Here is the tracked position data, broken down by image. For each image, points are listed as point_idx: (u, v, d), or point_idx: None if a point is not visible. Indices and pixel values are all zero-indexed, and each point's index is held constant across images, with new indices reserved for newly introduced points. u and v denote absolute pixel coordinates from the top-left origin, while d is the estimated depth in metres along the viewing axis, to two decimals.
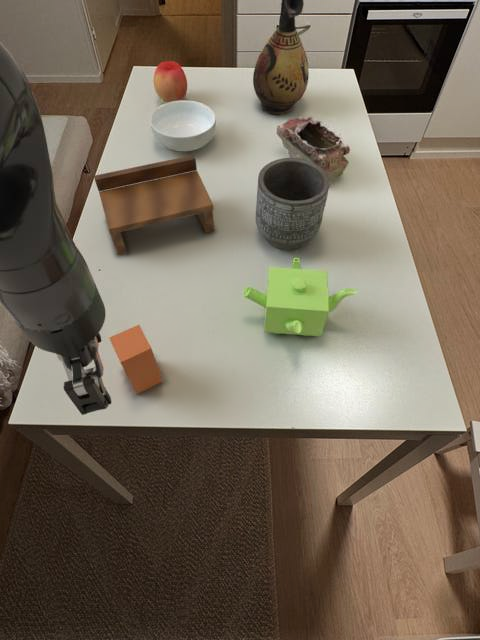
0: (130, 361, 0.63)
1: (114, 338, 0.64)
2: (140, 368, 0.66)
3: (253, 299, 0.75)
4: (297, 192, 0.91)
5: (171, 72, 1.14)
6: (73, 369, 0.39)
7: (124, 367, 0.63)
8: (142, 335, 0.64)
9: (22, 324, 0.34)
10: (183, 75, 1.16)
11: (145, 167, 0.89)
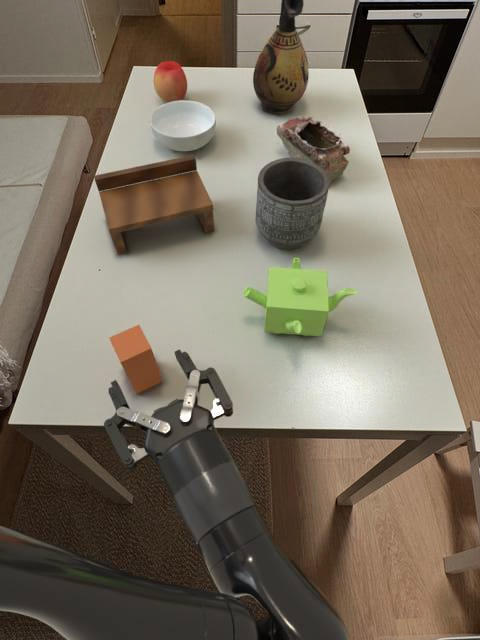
0: (130, 361, 0.63)
1: (114, 338, 0.64)
2: (140, 368, 0.66)
3: (253, 299, 0.75)
4: (297, 192, 0.91)
5: (171, 72, 1.14)
6: (143, 457, 0.46)
7: (124, 367, 0.63)
8: (142, 335, 0.64)
9: (180, 495, 0.42)
10: (183, 75, 1.16)
11: (145, 167, 0.89)
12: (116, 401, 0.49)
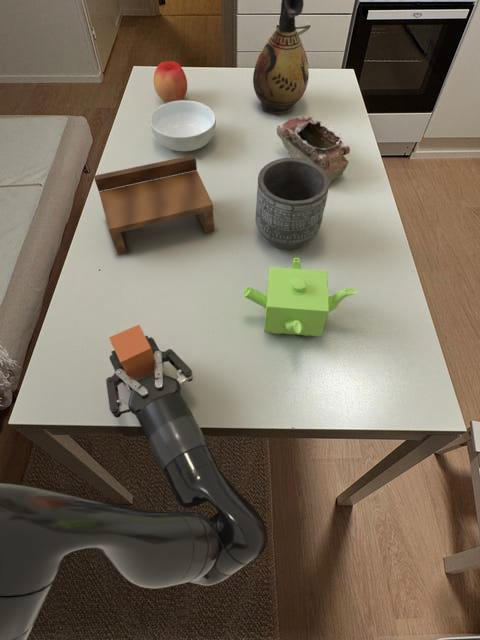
0: (130, 361, 0.63)
1: (114, 338, 0.64)
2: (140, 368, 0.66)
3: (253, 299, 0.75)
4: (297, 192, 0.91)
5: (171, 72, 1.14)
6: (125, 410, 0.63)
7: (124, 367, 0.63)
8: (142, 335, 0.64)
9: (152, 437, 0.58)
10: (183, 75, 1.16)
11: (145, 167, 0.89)
12: (115, 365, 0.66)
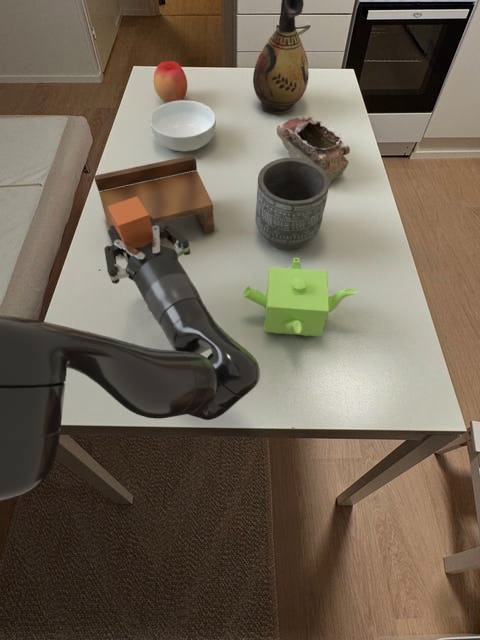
0: (128, 226, 0.64)
1: (113, 207, 0.65)
2: (138, 240, 0.67)
3: (253, 299, 0.75)
4: (297, 192, 0.91)
5: (171, 72, 1.14)
6: (123, 274, 0.64)
7: (122, 234, 0.64)
8: (140, 204, 0.66)
9: (149, 291, 0.59)
10: (183, 75, 1.16)
11: (145, 167, 0.89)
12: (113, 237, 0.67)
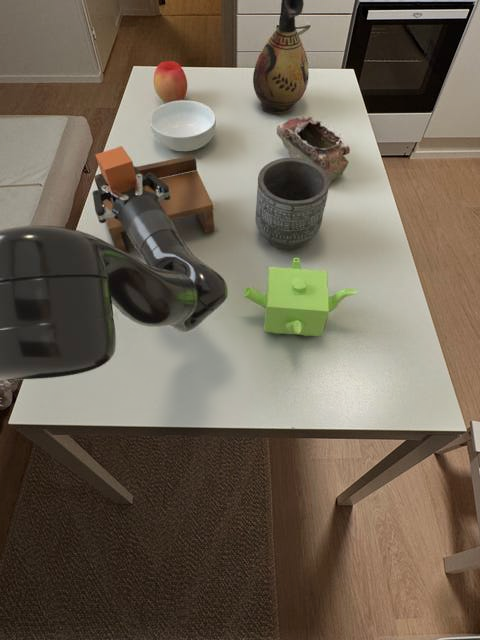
0: (113, 171, 0.71)
1: (100, 154, 0.73)
2: (123, 186, 0.75)
3: (253, 299, 0.75)
4: (297, 192, 0.91)
5: (171, 72, 1.14)
6: (109, 214, 0.71)
7: (108, 178, 0.72)
8: (124, 153, 0.73)
9: (131, 225, 0.67)
10: (183, 75, 1.16)
11: (145, 167, 0.89)
12: (101, 184, 0.75)
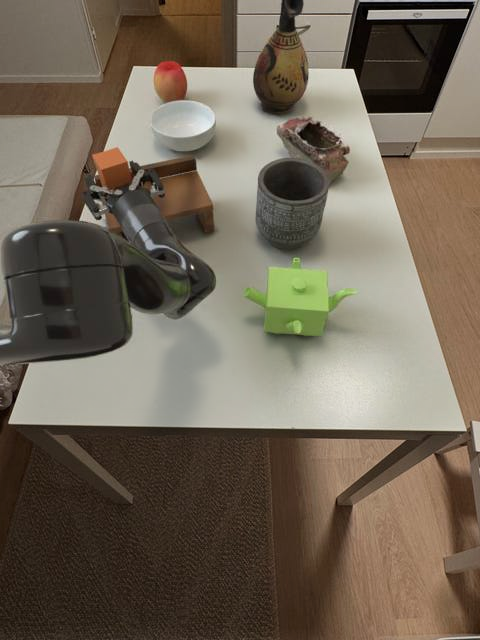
0: (109, 171, 0.75)
1: (97, 155, 0.76)
2: (118, 185, 0.78)
3: (253, 299, 0.75)
4: (297, 192, 0.91)
5: (171, 72, 1.14)
6: (105, 210, 0.74)
7: (105, 178, 0.76)
8: (120, 153, 0.77)
9: (125, 218, 0.70)
10: (183, 75, 1.16)
11: (145, 167, 0.89)
12: (90, 184, 0.77)
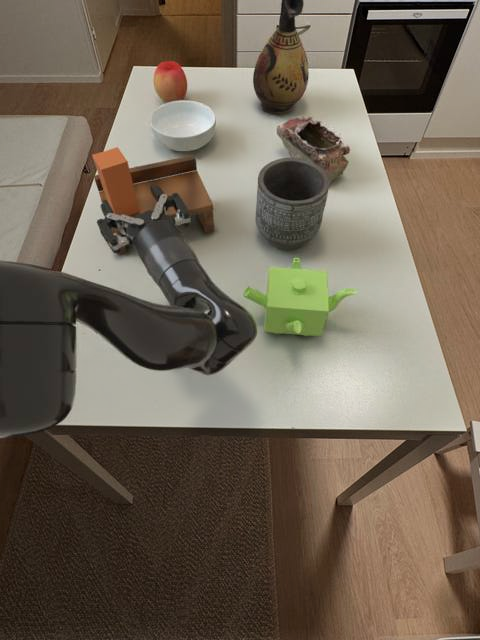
0: (109, 171, 0.75)
1: (97, 155, 0.76)
2: (118, 185, 0.78)
3: (253, 299, 0.75)
4: (297, 192, 0.91)
5: (171, 72, 1.14)
6: (124, 242, 0.65)
7: (105, 178, 0.76)
8: (120, 153, 0.77)
9: (148, 254, 0.61)
10: (183, 75, 1.16)
11: (145, 167, 0.89)
12: (106, 211, 0.68)
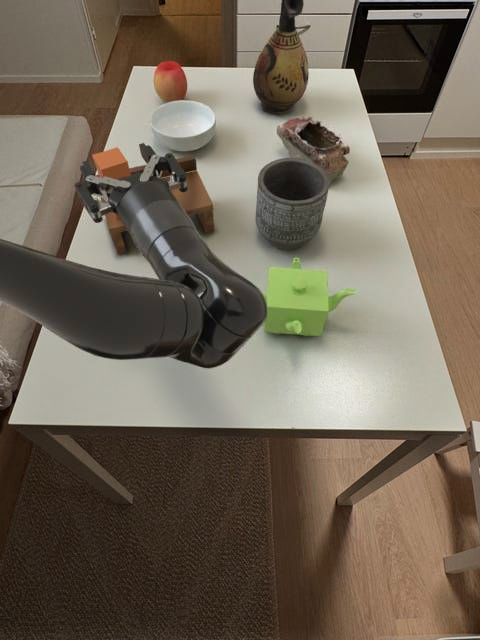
0: (109, 171, 0.75)
1: (97, 155, 0.76)
2: None
3: None
4: (297, 192, 0.91)
5: (171, 72, 1.14)
6: (107, 208, 0.54)
7: None
8: (120, 153, 0.77)
9: (135, 220, 0.49)
10: (183, 75, 1.16)
11: None
12: (86, 174, 0.57)
